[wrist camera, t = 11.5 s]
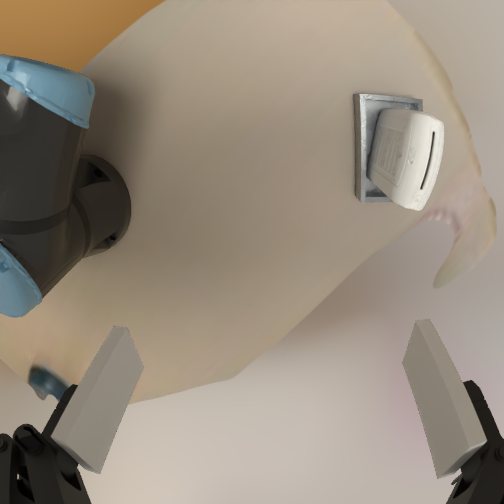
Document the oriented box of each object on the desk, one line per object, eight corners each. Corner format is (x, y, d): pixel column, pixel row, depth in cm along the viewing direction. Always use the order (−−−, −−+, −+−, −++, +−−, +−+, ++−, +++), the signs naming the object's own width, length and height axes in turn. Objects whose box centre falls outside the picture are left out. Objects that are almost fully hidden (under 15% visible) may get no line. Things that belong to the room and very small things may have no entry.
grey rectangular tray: (354, 195, 38) (360, 201, 35) (353, 94, 32) (359, 93, 29) (410, 195, 37) (418, 201, 34) (412, 99, 31) (422, 99, 29)
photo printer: (391, 187, 36) (432, 222, 25) (362, 180, 36) (395, 213, 25) (408, 113, 32) (458, 120, 21) (378, 103, 32) (421, 105, 21)
